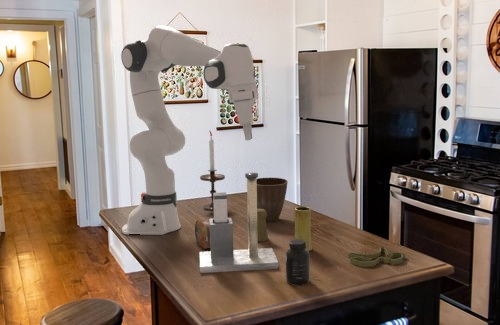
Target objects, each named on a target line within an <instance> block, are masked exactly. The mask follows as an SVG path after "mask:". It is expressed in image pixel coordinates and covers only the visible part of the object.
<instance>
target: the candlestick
mask: <svg viewBox="0 0 500 325" xmlns="http://www.w3.org/2000/svg"><path fill="white" fill-rule="evenodd" d="M208 131H209V132H208V133H209V135H210V138H209V139H208V140H209V142H208V144H209V146H208V147H209V169H208V170H207V171H208V172H209V174H202V175H200V176H199V178H200V179H199V180H201V181H205V182H210V185H211V187H210V188H211V189H210V191H209V193H210V194H211V196H210V198H211V203H208V204H205V205H203V206H202V208H203V209H202V210H205V211H208V210H210V211H211V212H214V199H213V193H217V190H216V189H215V183H216V182H218V181H222V180H225V179H226V176H225V175H224V174H221V173H218V174H217V173H216V172H217V169H215V151H214V150H215V149H214V147H215V146H214V144H215V142H214V139H213V132H212V131H211V130H208Z"/></svg>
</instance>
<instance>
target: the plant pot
mask: <svg viewBox="0 0 500 325" xmlns="http://www.w3.org/2000/svg"><path fill="white" fill-rule="evenodd" d="M288 182H289V181H288V180H287V179H285V178H281V177H259V178H258V177H257V209H264V210H266V212H267V216H266V218H265V220H266V222H267V223H273V222H277V221H279V219H280V216H281V214H282V210H283V207H284V204H285V199H286V194H287V189H288Z"/></svg>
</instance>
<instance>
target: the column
mask: <svg viewBox="0 0 500 325" xmlns="http://www.w3.org/2000/svg"><path fill="white" fill-rule="evenodd" d="M213 199H214V211H213V219H214V224H218V223H228V220H227V218H228V195H227V192H226V191H223V192H216V193H213Z"/></svg>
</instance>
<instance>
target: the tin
mask: <svg viewBox="0 0 500 325" xmlns="http://www.w3.org/2000/svg"><path fill="white" fill-rule="evenodd" d="M194 225H195V226H194V235H195V239H196V240H195V241H196V242H197V243H198V245H200V247H201V248H202V249H204V250H207V249H210V226H209V221H207V220H205V219H198V220H196V221H195V224H194Z"/></svg>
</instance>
